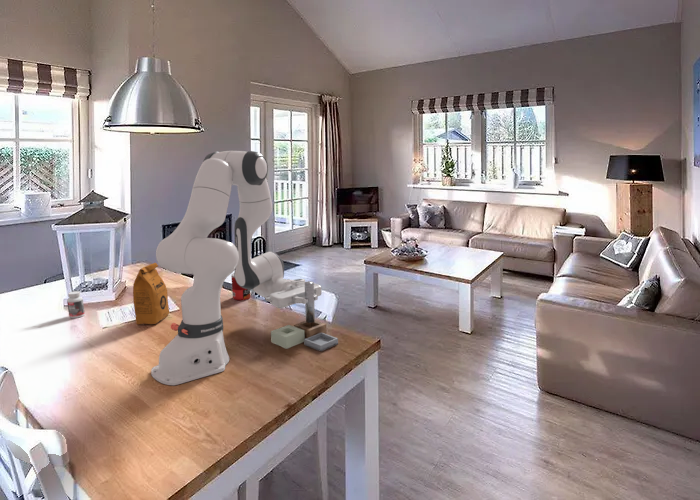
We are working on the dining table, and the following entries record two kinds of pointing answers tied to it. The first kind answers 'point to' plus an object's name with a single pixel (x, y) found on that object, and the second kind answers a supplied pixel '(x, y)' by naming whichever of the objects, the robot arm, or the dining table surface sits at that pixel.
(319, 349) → the tray
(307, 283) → the cylinder
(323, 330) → the brown wooden square frame
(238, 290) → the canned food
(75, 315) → the pill bottle
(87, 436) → the dining table surface
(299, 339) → the sage block
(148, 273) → the coffee package
